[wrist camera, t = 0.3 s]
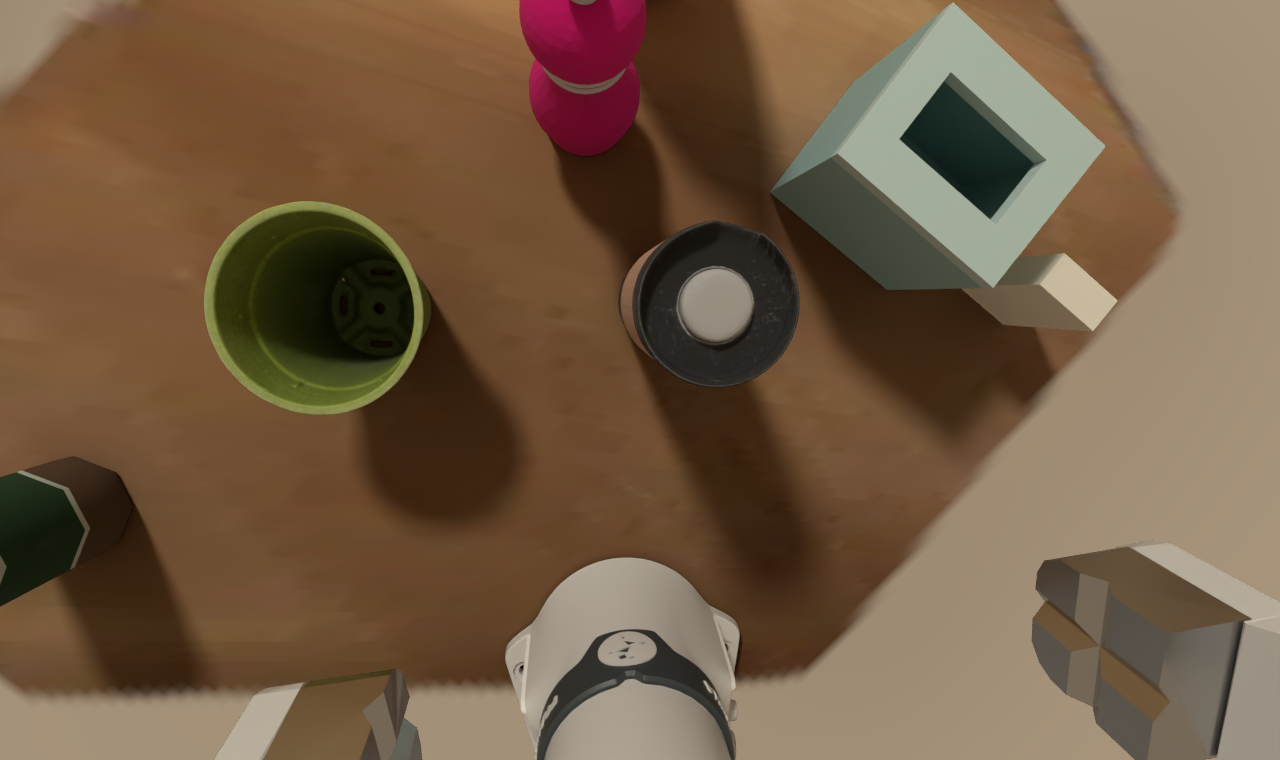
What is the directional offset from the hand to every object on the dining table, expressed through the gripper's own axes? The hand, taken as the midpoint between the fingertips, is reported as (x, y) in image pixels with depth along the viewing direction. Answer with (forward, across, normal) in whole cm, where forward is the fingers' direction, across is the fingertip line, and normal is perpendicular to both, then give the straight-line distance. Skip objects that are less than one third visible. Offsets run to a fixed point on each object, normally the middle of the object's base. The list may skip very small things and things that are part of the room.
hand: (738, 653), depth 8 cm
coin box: (+41, +22, +5) cm, 47 cm away
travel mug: (+41, +6, -2) cm, 41 cm away
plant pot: (+42, -15, 0) cm, 44 cm away
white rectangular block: (+39, +32, -4) cm, 51 cm away
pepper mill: (+43, +2, +12) cm, 44 cm away
